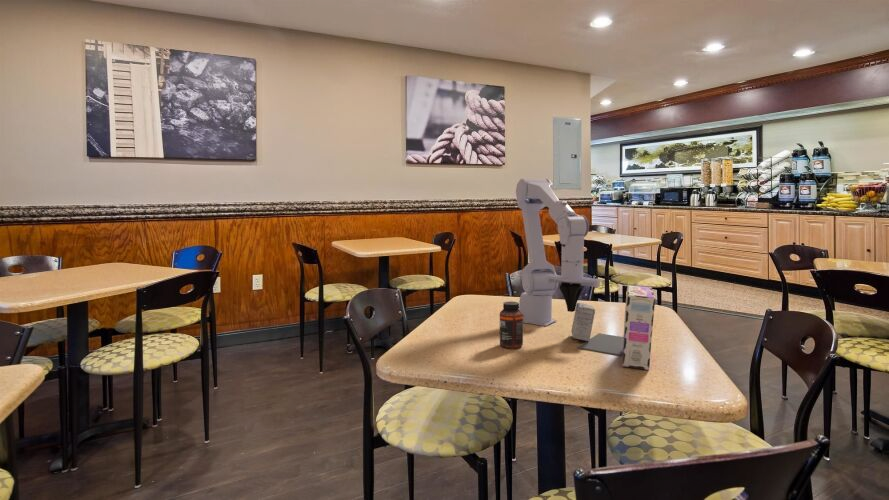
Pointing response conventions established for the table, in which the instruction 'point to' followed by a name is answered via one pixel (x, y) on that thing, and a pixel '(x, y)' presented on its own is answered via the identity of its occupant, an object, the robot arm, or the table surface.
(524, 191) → the robot arm
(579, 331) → the medicine box
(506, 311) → the supplement bottle
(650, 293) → the candy box
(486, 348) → the table surface
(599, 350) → the mat
